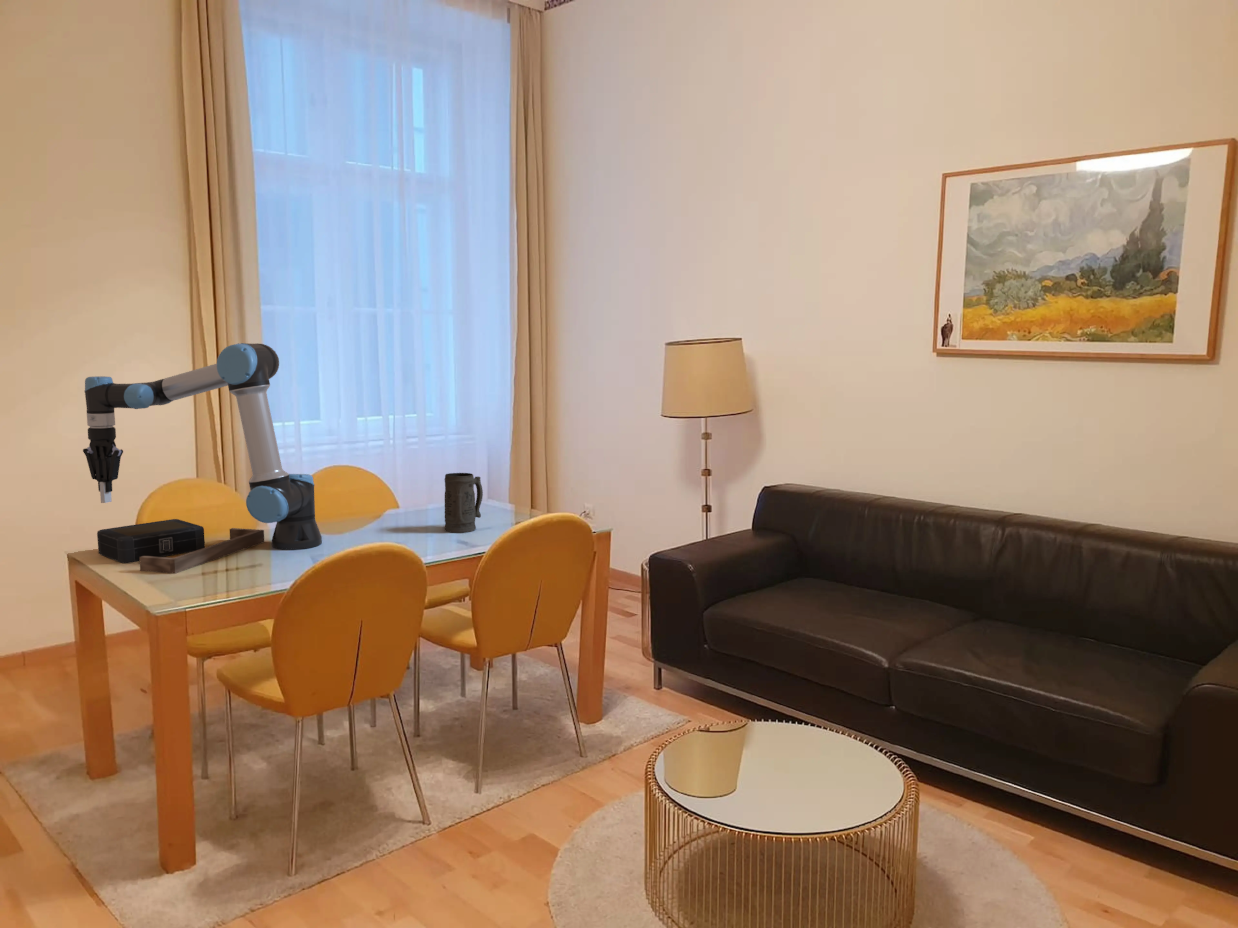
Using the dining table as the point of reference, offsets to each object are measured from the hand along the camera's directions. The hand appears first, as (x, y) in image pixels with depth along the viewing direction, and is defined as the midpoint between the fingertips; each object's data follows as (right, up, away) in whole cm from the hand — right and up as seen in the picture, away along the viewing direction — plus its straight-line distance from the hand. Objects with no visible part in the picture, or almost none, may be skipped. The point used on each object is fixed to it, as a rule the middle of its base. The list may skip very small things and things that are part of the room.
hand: (106, 502), depth 285 cm
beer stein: (+106, -11, +35) cm, 112 cm away
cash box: (+15, -16, -1) cm, 22 cm away
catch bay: (+34, -16, -6) cm, 38 cm away
